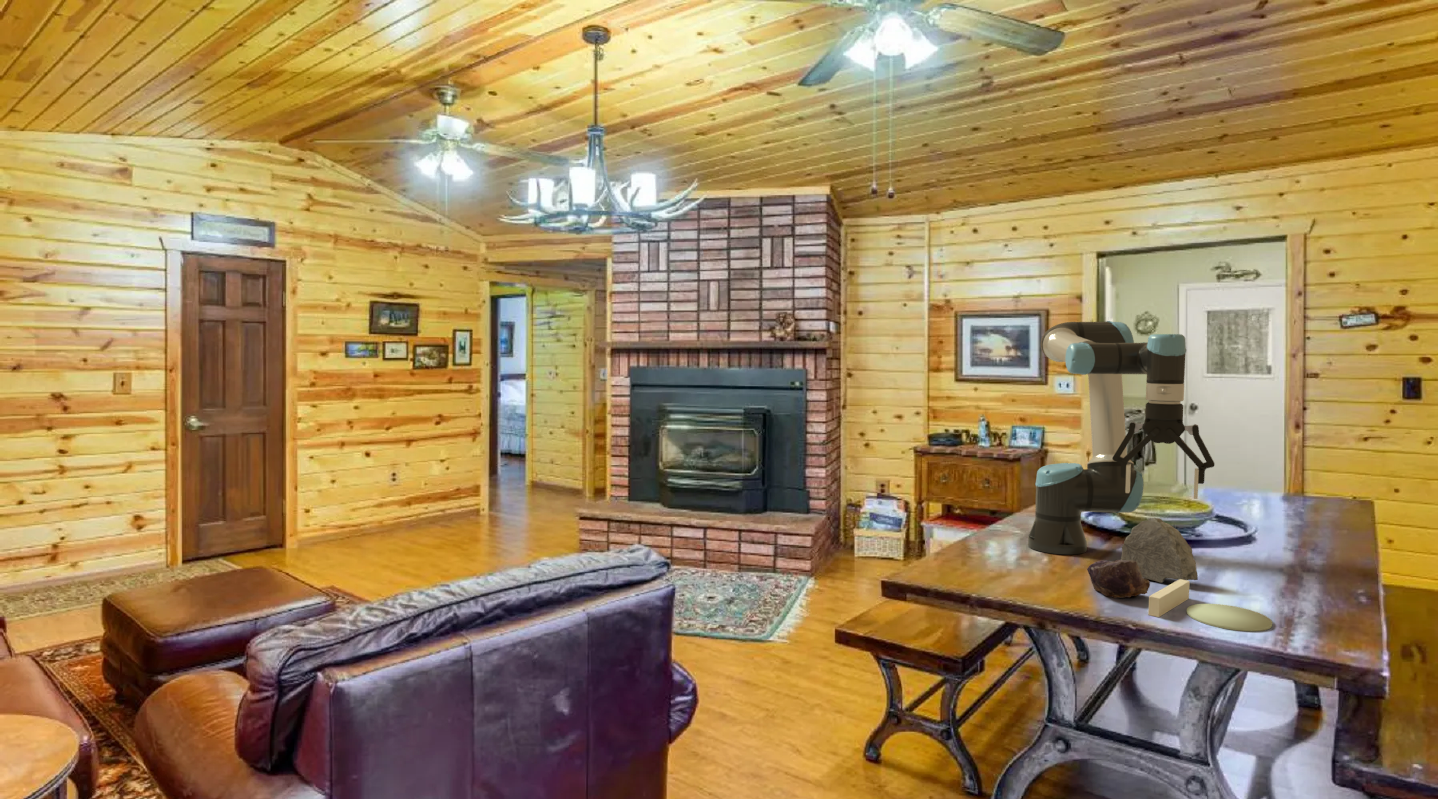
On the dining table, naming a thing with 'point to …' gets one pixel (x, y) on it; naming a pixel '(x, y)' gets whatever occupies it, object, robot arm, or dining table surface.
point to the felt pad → (1229, 617)
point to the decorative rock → (1160, 551)
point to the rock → (1118, 578)
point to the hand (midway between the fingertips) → (1160, 495)
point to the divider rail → (1168, 598)
